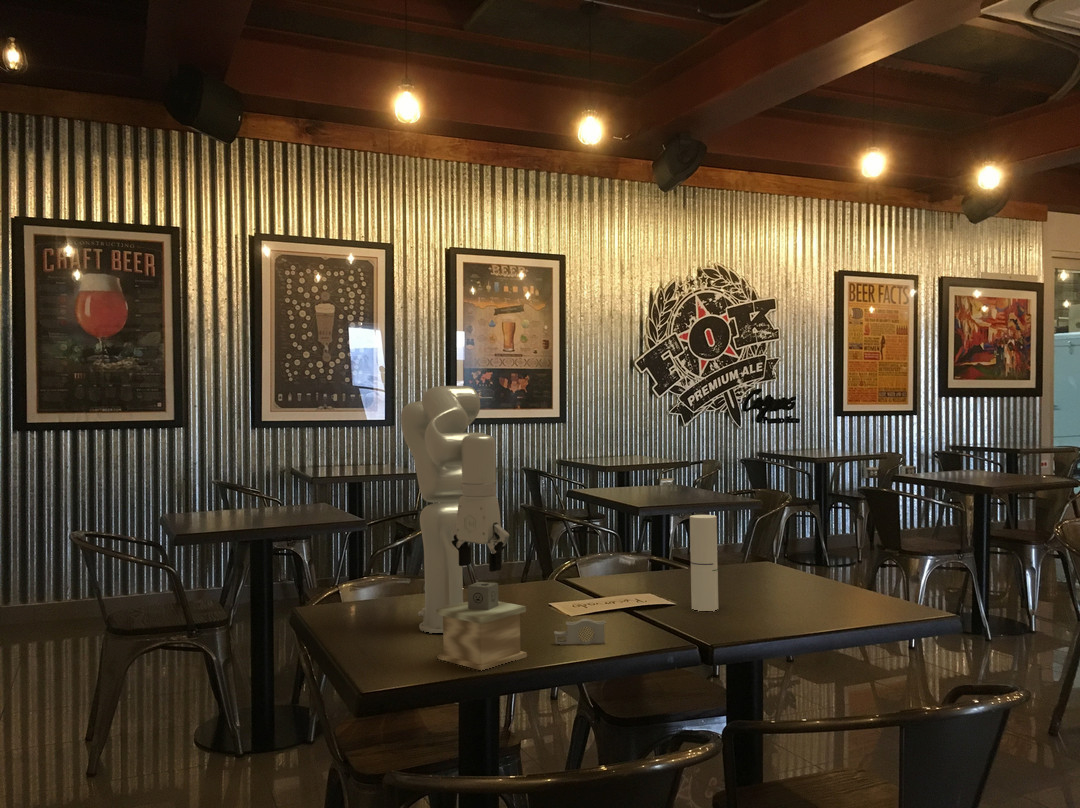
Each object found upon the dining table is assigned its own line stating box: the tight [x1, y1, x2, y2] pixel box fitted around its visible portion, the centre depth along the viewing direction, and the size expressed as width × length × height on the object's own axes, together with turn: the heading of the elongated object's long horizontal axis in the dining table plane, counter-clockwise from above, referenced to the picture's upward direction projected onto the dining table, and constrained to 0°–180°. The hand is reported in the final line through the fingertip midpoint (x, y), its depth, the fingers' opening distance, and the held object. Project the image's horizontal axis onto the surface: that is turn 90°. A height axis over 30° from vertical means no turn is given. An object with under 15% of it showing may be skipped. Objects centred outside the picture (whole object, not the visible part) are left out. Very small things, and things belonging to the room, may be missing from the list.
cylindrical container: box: [689, 514, 719, 612], centre depth 242 cm, size 7×7×25 cm
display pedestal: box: [436, 600, 528, 672], centre depth 198 cm, size 14×14×11 cm
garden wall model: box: [553, 617, 607, 645], centre depth 209 cm, size 12×2×6 cm, turn 92°
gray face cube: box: [467, 581, 499, 610], centre depth 199 cm, size 5×5×5 cm
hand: (479, 567), depth 198 cm, fingers open, 9 cm apart
